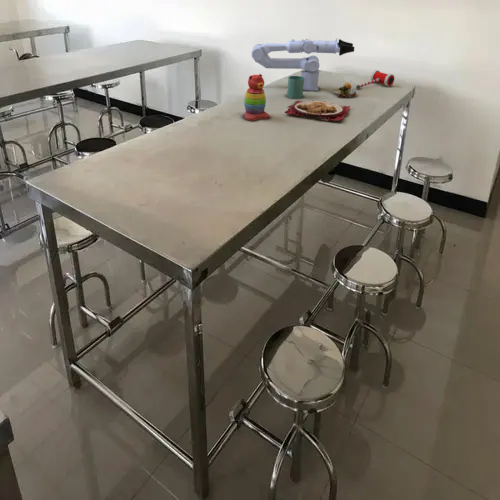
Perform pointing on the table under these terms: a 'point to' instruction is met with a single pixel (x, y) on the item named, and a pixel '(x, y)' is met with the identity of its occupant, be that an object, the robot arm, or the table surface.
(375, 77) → the toy hammer
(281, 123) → the table surface
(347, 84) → the burger
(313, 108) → the plate with food
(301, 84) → the green cup
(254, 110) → the stacking bear
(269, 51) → the robot arm
